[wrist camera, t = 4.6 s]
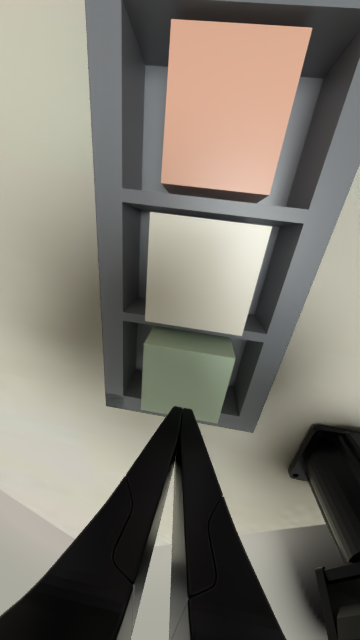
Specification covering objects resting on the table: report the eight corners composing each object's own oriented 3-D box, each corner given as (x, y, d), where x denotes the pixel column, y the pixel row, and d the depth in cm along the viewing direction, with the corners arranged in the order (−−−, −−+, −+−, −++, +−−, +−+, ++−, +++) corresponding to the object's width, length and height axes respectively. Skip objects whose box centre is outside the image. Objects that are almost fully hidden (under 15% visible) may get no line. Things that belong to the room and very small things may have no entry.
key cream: (234, 315, 11) (241, 336, 9) (156, 304, 11) (144, 321, 9) (255, 229, 9) (272, 226, 7) (162, 217, 9) (149, 212, 7)
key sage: (215, 392, 13) (217, 423, 11) (151, 381, 13) (140, 409, 11) (229, 334, 11) (235, 358, 9) (155, 323, 12) (143, 343, 9)
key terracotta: (255, 204, 10) (269, 195, 8) (170, 194, 10) (161, 183, 8) (283, 83, 8) (312, 27, 6) (180, 75, 8) (171, 18, 6)
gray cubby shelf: (244, 398, 16) (253, 432, 13) (122, 377, 16) (106, 405, 13) (467, -272, 5) (739, -796, 3) (119, -264, 6) (49, -684, 3)
